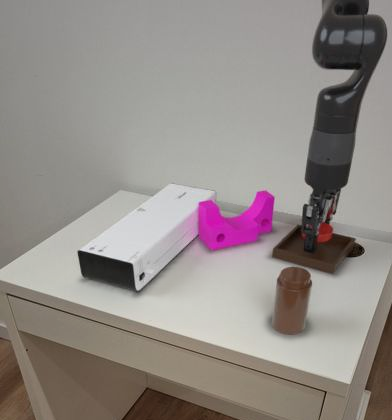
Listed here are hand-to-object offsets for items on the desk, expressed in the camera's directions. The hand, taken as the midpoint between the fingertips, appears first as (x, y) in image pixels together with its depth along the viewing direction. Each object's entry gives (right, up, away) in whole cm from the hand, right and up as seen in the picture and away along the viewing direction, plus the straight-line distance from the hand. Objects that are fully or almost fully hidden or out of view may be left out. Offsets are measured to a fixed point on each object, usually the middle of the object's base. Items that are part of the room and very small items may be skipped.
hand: (315, 244), depth 93 cm
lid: (0, +2, -2) cm, 3 cm away
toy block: (-14, +3, +6) cm, 16 cm away
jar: (-8, -16, -17) cm, 25 cm away
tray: (0, -1, +1) cm, 2 cm away
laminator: (-31, 0, +3) cm, 31 cm away
